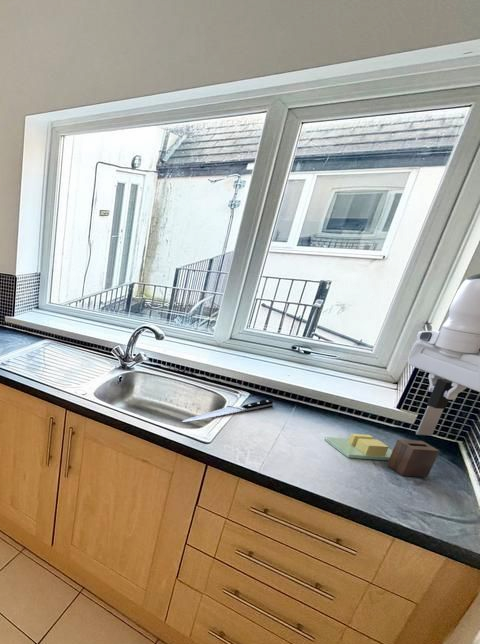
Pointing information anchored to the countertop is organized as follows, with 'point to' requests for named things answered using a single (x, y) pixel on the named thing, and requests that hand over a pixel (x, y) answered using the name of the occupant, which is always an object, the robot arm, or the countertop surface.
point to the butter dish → (353, 449)
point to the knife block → (412, 458)
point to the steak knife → (233, 410)
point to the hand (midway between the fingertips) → (440, 395)
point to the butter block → (371, 447)
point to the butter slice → (355, 438)
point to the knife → (434, 407)
